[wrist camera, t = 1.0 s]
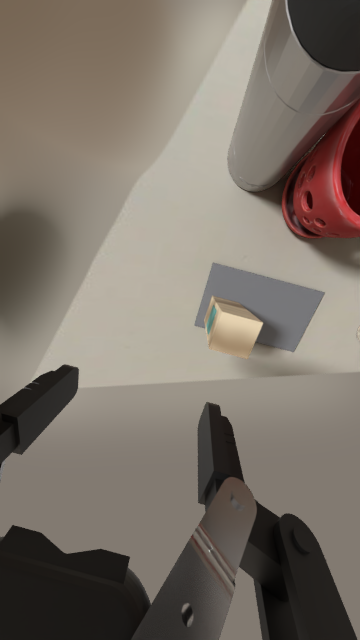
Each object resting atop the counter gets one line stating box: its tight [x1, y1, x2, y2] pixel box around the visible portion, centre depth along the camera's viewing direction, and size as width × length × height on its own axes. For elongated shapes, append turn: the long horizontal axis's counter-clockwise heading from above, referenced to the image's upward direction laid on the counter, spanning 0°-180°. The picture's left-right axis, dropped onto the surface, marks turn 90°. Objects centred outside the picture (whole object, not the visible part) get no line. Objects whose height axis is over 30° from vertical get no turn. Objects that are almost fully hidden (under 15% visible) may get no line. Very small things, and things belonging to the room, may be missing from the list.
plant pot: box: [282, 98, 360, 238], centre depth 21 cm, size 13×13×12 cm
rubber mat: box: [194, 263, 324, 352], centre depth 32 cm, size 12×20×1 cm, turn 76°
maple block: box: [204, 296, 263, 359], centre depth 27 cm, size 5×5×12 cm
